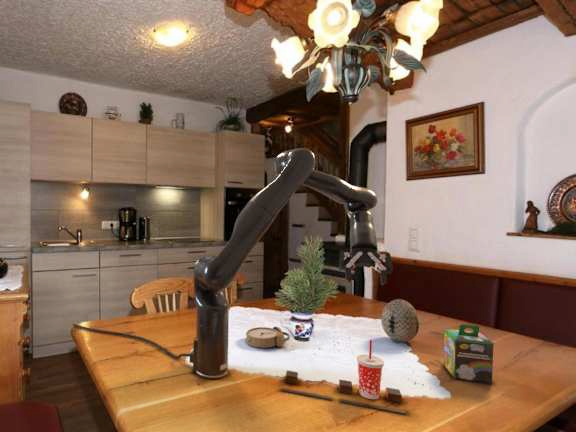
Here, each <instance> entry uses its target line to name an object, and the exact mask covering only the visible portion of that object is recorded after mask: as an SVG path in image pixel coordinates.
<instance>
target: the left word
mask: <svg viewBox="0 0 576 432" xmlns="http://www.w3.org/2000/svg"><path fill="white" fill-rule="evenodd" d="M298 381H299V372H298V371H294V370H293V371H292V370H286V372H285V383H288V384H293V385H298V383H299V382H298ZM281 392H284V393H289V394H295V395H301V396H305V397H311V398H316V399H321V400H326V401H333V397H331V396H327V395H319V394H316V393H311V392H305V391H299V390H295V389H289V388H281Z"/></svg>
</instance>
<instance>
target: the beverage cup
mask: <svg viewBox="0 0 576 432" xmlns="http://www.w3.org/2000/svg"><path fill="white" fill-rule="evenodd" d="M372 343H373V340H372V339H369V348H368V351H369V352H368V354H359V355H357V356H356V362H357V370H358V371H357V373H358V374H357V375H358V392H359V395H360V396H362V398H365V399H369V400H378V399H379V398H380V392H381V383H382V374H383V368H384V364H385V363H384V360H383V359H382V358H379V357H377V356H375V355H372V345H373V344H372Z"/></svg>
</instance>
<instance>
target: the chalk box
mask: <svg viewBox="0 0 576 432" xmlns="http://www.w3.org/2000/svg"><path fill="white" fill-rule="evenodd" d="M466 329H472V330H466ZM443 333H444V334H443V335H444V336H443V337H444V338H443V366H444V367H445V369H446V370H447V371H448V373H450V375H451V376H452V378H453V379H459V380H465V381H472V382H478V383H483V384H484V383H485V384H490V385H492V384H493V369H494V368H493V367H494V346H495V345H494V344H495V343H494V342H493V341H491V340H490V339H489V338H488V337H486V336H485V335H484V334H483V333H481V332H480V326H479V325H475V324H466V323H460V324H459V328H458V329H451V328H450V329H449V328H445V329H444V332H443Z"/></svg>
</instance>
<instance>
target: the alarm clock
mask: <svg viewBox="0 0 576 432" xmlns="http://www.w3.org/2000/svg"><path fill="white" fill-rule="evenodd" d="M245 335H246V343H247V344H248V345H249V346H251V347H255V348H263V349H264V348H272V347H273V348H274V347H276V346H277V347H278V348H281V347H283V346H284V345H285V342H287V341H289V340H290V339H291V335H290V334H289V333H288V332H286V331H282V329H281V327H278V326H273V327H268V326H267V327H266V326H259V327H258V326H257V327H253V328H250V329H248V330H247V331H246V333H245ZM285 336H286V337H285Z"/></svg>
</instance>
